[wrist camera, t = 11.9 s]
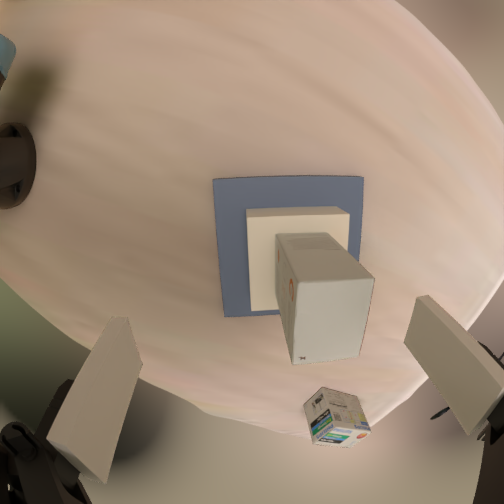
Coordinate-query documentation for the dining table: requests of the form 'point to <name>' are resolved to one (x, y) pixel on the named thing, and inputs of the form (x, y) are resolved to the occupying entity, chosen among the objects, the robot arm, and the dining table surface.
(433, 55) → the dining table surface
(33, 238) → the dining table surface
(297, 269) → the small box
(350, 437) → the light bulb box
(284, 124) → the dining table surface
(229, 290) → the build board
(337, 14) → the dining table surface
